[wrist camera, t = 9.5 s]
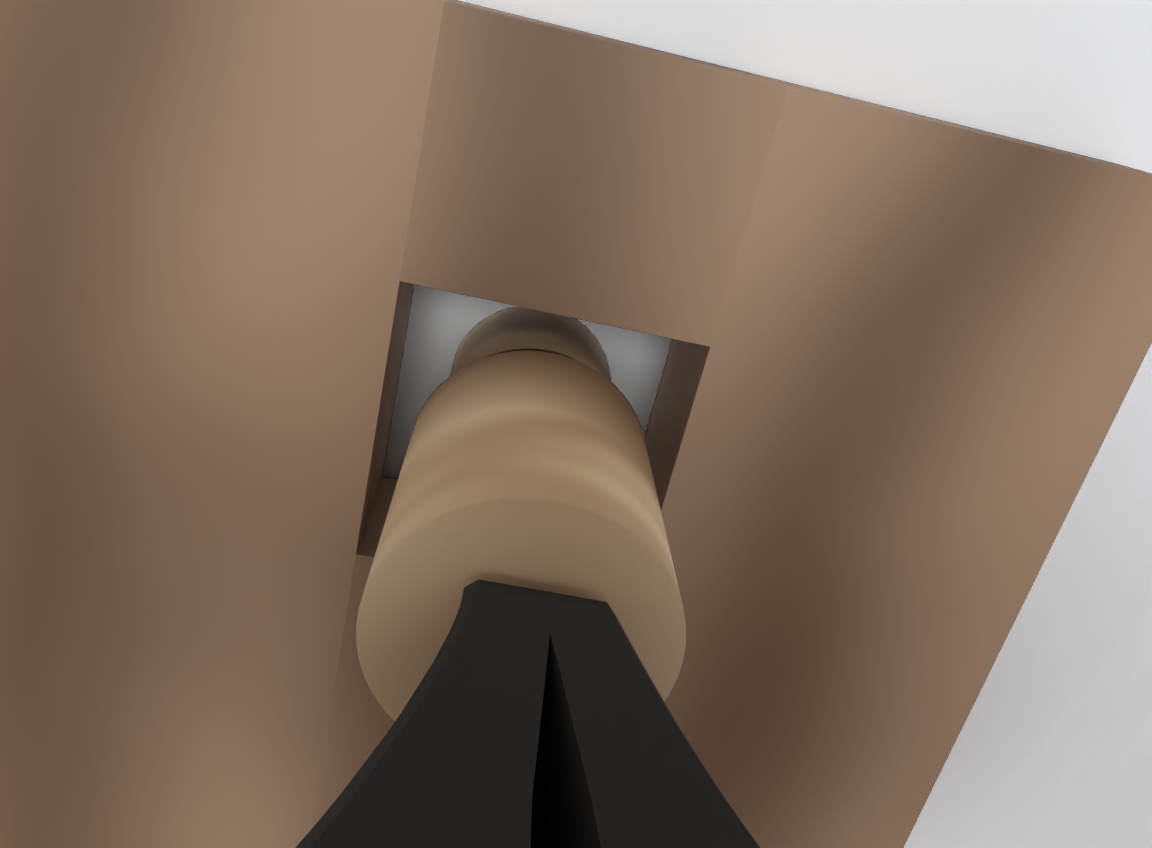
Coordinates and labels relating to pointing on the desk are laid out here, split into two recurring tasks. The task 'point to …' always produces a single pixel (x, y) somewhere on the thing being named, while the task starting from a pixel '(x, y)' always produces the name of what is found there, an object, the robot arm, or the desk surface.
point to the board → (536, 281)
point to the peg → (520, 503)
